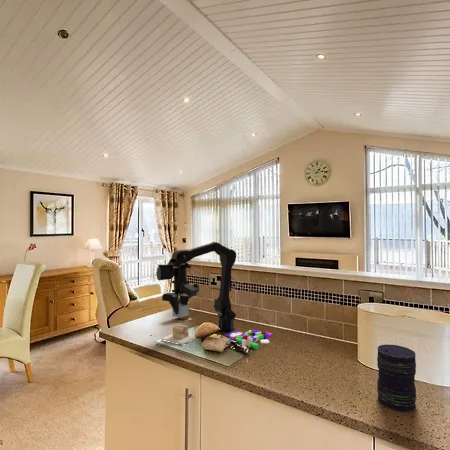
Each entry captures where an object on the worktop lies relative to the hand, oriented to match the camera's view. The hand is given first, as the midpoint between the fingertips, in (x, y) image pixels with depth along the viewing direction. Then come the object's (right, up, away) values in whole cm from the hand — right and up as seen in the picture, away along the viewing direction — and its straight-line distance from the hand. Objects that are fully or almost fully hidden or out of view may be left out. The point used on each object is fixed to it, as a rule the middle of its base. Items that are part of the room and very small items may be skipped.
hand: (180, 312), depth 144 cm
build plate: (0, -12, 0) cm, 12 cm away
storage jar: (+69, -12, -52) cm, 88 cm away
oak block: (0, -11, 0) cm, 11 cm away
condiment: (-3, -12, +31) cm, 33 cm away
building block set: (+29, -13, -1) cm, 32 cm away
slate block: (0, -1, 0) cm, 1 cm away
